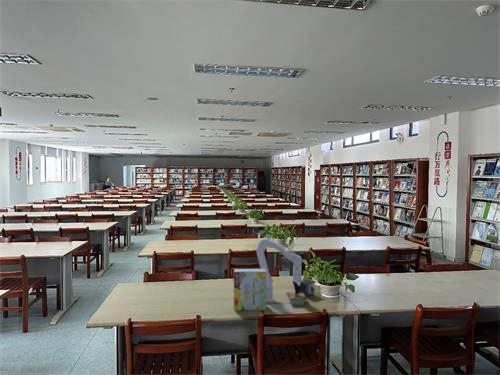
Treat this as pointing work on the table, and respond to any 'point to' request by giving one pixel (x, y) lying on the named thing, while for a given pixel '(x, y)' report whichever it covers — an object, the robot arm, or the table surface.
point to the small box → (307, 288)
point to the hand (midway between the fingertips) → (296, 292)
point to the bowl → (297, 302)
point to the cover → (296, 296)
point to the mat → (281, 308)
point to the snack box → (249, 289)
